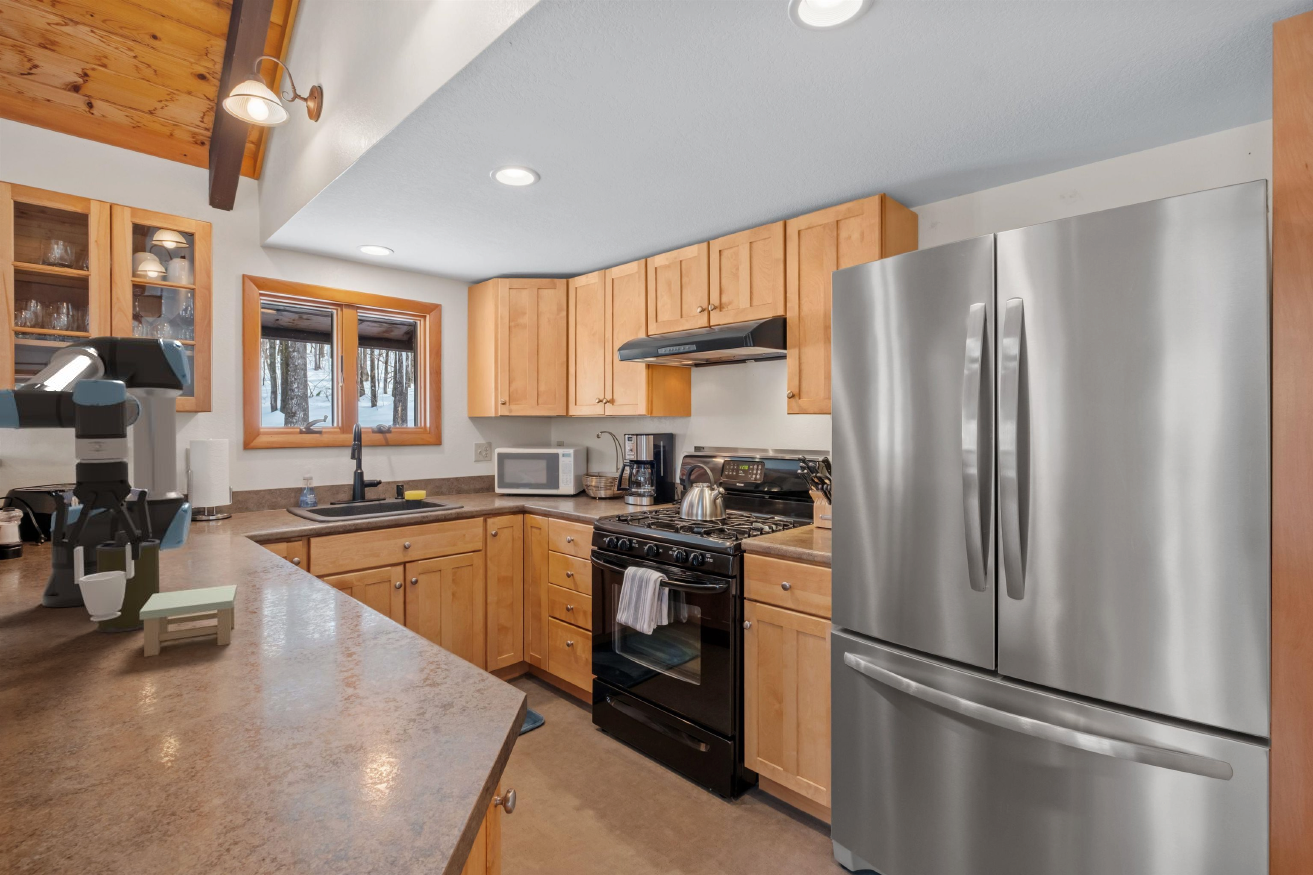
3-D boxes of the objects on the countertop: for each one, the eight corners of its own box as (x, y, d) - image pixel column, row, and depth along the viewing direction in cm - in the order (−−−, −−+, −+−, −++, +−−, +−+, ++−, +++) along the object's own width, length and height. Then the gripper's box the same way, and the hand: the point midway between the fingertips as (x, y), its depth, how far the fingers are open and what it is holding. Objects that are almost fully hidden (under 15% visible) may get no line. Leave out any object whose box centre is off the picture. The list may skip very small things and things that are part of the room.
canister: (173, 617, 137) (172, 527, 136) (129, 633, 126) (127, 535, 126) (128, 616, 138) (127, 526, 138) (81, 632, 128) (79, 535, 127)
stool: (153, 635, 125) (153, 593, 125) (237, 624, 132) (237, 584, 132) (140, 657, 113) (139, 611, 113) (233, 643, 120) (232, 600, 120)
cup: (80, 626, 114) (77, 582, 114) (81, 613, 122) (78, 572, 121) (130, 616, 119) (127, 575, 118) (128, 605, 126) (125, 566, 126)
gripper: (24, 463, 111) (28, 591, 112) (164, 460, 121) (166, 577, 122) (38, 460, 117) (41, 581, 118) (170, 457, 127) (172, 568, 128)
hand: (105, 579), depth 120 cm, fingers closed on cup, 7 cm apart
